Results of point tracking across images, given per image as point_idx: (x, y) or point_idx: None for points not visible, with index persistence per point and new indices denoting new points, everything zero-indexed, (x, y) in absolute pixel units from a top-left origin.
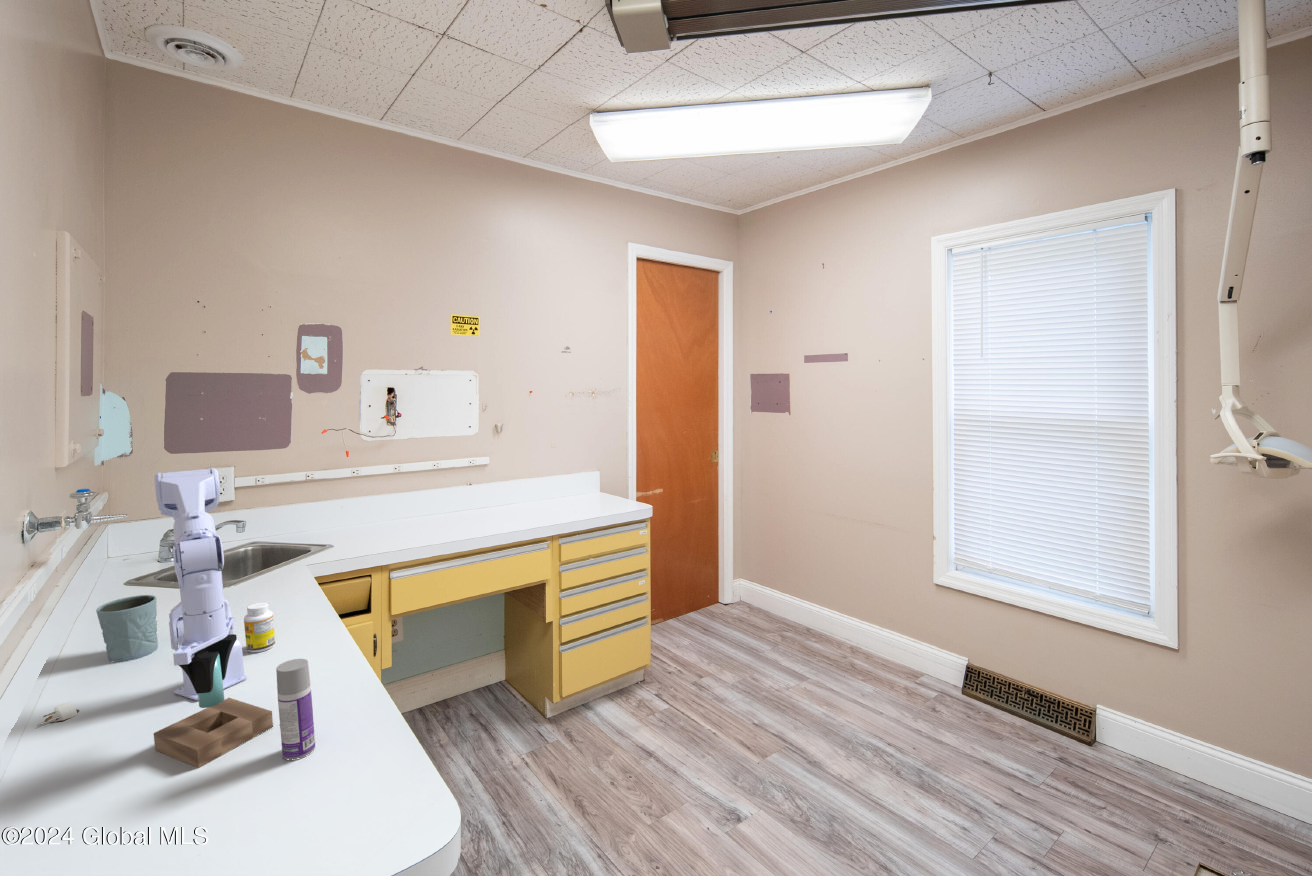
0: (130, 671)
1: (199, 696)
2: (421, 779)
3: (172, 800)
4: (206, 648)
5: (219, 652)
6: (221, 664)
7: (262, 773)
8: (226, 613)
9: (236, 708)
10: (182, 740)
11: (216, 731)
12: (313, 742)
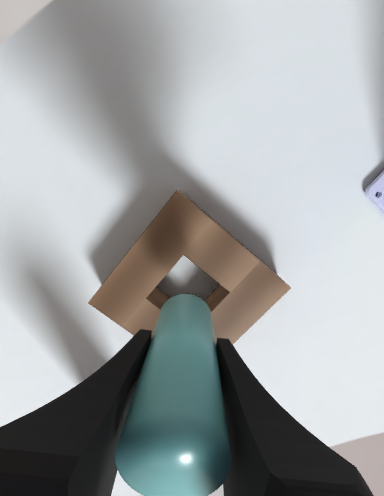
0: None
1: (160, 318)
2: None
3: (26, 283)
4: (247, 480)
5: (229, 487)
6: None
7: (70, 373)
8: None
9: (231, 317)
10: (128, 263)
11: (146, 312)
12: None
